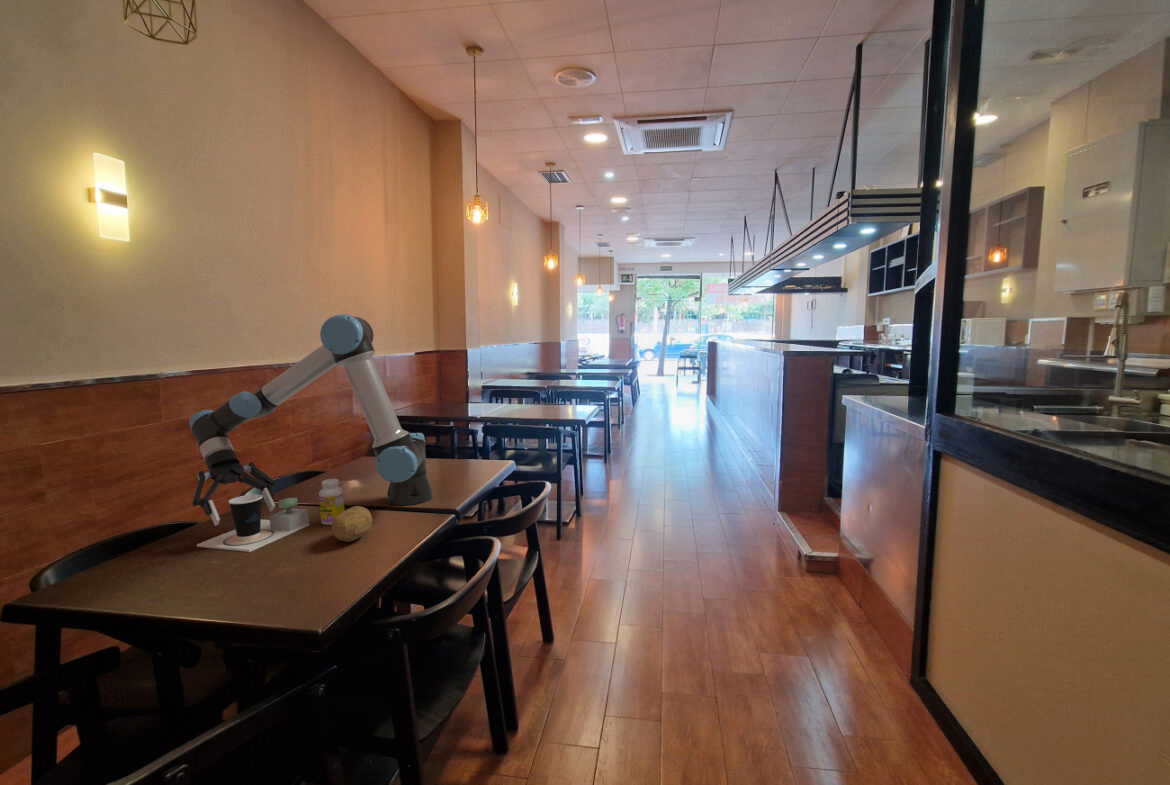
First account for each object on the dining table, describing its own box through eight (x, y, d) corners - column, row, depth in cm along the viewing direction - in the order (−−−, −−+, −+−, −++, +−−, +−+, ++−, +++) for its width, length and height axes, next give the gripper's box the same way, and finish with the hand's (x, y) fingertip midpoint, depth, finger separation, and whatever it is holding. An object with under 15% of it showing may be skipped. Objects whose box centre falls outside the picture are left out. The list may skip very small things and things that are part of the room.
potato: (322, 550, 132) (319, 520, 131) (345, 530, 146) (343, 503, 145) (359, 548, 132) (357, 519, 132) (379, 529, 146) (377, 502, 146)
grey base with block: (310, 524, 152) (309, 509, 152) (249, 551, 132) (248, 534, 132) (262, 520, 157) (261, 506, 156) (196, 546, 137) (195, 530, 137)
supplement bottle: (315, 524, 152) (312, 482, 151) (334, 517, 158) (331, 476, 157) (332, 526, 150) (329, 484, 148) (350, 519, 156) (347, 478, 155)
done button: (302, 518, 151) (301, 498, 151) (289, 523, 146) (287, 503, 146) (289, 517, 152) (288, 497, 152) (276, 522, 148) (274, 502, 147)
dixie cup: (240, 533, 144) (237, 495, 143) (270, 530, 146) (267, 493, 145) (225, 543, 137) (222, 503, 136) (257, 541, 138) (254, 501, 137)
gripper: (263, 455, 159) (289, 510, 152) (164, 473, 139) (189, 537, 132) (269, 440, 156) (296, 496, 149) (168, 456, 136) (194, 521, 128)
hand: (246, 515), depth 140 cm, fingers open, 13 cm apart
